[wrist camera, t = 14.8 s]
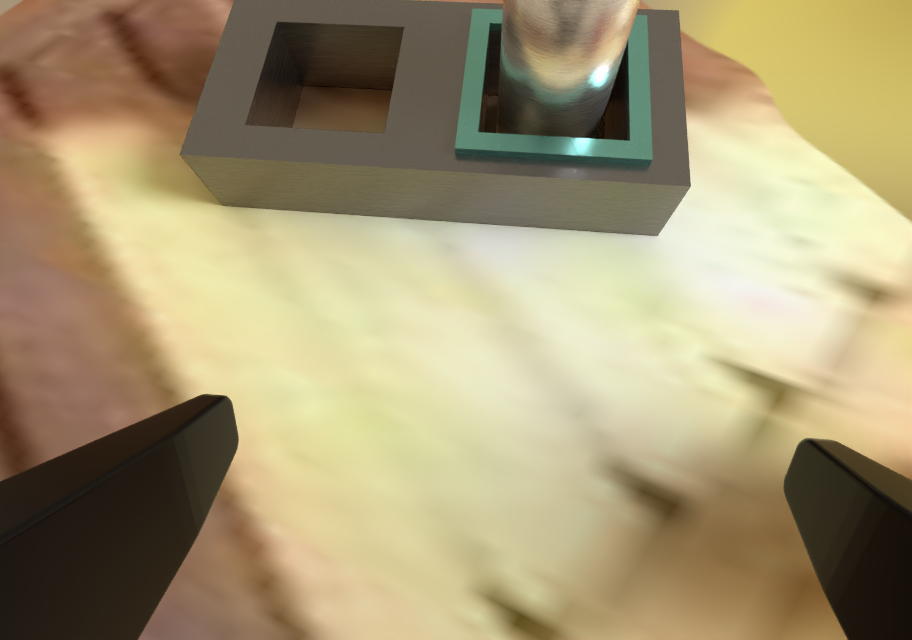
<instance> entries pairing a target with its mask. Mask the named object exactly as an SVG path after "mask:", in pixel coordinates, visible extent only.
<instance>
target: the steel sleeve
mask: <svg viewBox="0 0 912 640" xmlns="http://www.w3.org/2000/svg"><path fill="white" fill-rule="evenodd" d="M640 1H641V0H503V13H502V32H501V52H500V72H499V91H498V111H497V131H496V133H501V134H519V135H536V136H554V137H572V138H590V139H596V137H597V134H598V131H599V128H600V125H601V122H602V118H603V115H604V112H605V109H606V106H607V103H608V100H609V97H610V94H611V91H612V88H613V84H614V81H615V78H616V75H617V72H618V69H619V66H620V63H621V60H622V57H623V53H624V50H625V47H626V44H627V41H628V38H629V35H630V32H631V29H632V26H633V23H634V19H635V16H636V13H637V10H638V7H639V4H640Z"/></svg>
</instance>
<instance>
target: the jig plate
mask: <svg viewBox="0 0 912 640" xmlns="http://www.w3.org/2000/svg"><path fill="white" fill-rule="evenodd" d="M502 13H503V4H492V3H466V2H439V1H413V0H234V3H233V6H232V9H231V11H230V14H229V17H228V20H227V23H226V25H225V28H224V31H223V34H222V37H221V40H220V42H219V45H218V48H217V51H216V54H215V57H214V59H213V62H212V65H211V68H210V71H209V73H208V76H207V79H206V82H205V85H204V88H203V90H202V93H201V96H200V99H199V102H198V104H197V107H196V110H195V113H194V116H193V119H192V121H191V124H190V127H189V130H188V133H187V135H186V138H185V141H184V144H183V147H182V150H181V152H180V156H181V157H182V158H183V159H184V160H185V162H186V163H187V164H188V165H189V166H190V167H191V169H192V170H193V171H194V172H195V173H196V175H197V176H198V177H199V178H200V179H201V180H202V182H203V183H204V184H205V185H206V186H207V188H208V189H209V190H210V191H211V192H212V193H213V195H214V196H215V197H216V198H217V199H218V201H219V202H220V203H221V204H222V205H224V206H238V207H252V208H267V209H281V210H296V211H310V212H324V213H339V214H353V215H367V216H382V217H396V218H411V219H425V220H439V221H454V222H468V223H483V224H497V225H511V226H526V227H540V228H554V229H569V230H583V231H598V232H612V233H626V234H641V235H655V236H658V235H659V233H660V232H661V230H662V229H663V227H664V226H665V224H666V223H667V221H668V220H669V218H670V217H671V215H672V214H673V212H674V211H675V209H676V208H677V206H678V205H679V203H680V202H681V200H682V199H683V197H684V196H685V194H686V193H687V191H688V190H689V188H690V187H691V184H690V169H689V154H688V140H687V125H686V110H685V95H684V81H683V66H682V51H681V37H680V23H679V11H676V10H675V11H673V10H650V9H638V10H637V13H636V16H635V19H634V23H633V26H632V29H631V32H630V35H629V38H628V41H627V44H626V47H625V50H624V53H623V57H622V60H621V63H620V66H619V69H618V72H617V75H616V78H615V81H614V84H613V88H612V91H611V94H610V97H609V100H608V103H607V106H606V109H605V139H590V138H572V137H554V136H536V135H519V134H501V133H484V128H485V118H486V108H487V99H488V95H498V91H499V72H500V52H501V32H502ZM303 85H310V86H330V87H349V88H369V89H388V90H392V95H391V100H390V106H389V111H388V116H387V122H386V127H385V132H384V133H372V132H354V131H337V130H319V129H302V128H292V124H293V121H294V117H295V113H296V109H297V106H298V102H299V98H300V94H301V91H302V87H303Z"/></svg>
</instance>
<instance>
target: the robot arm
mask: <svg viewBox="0 0 912 640" xmlns="http://www.w3.org/2000/svg"><path fill="white" fill-rule="evenodd" d="M238 440H239V438H238V431H237V426H236V420H235V415H234V410H233V405H232V402H231V400H230V398H228V397H227V396H224V395H211V394H203V395H200V396H197V397H195V398H193V399H190V400H188V401H186V402H183V403H181V404H179V405H176V406H174V407H172V408H169V409H167V410H165V411H162V412H160V413H158V414H156V415H153V416H151V417H149V418H146V419H144V420H142V421H139V422H137V423H135V424H132V425H130V426H128V427H125V428H123V429H121V430H118V431H116V432H114V433H112V434H109V435H107V436H105V437H102V438H100V439H98V440H95V441H93V442H91V443H88V444H86V445H84V446H81V447H79V448H77V449H74V450H72V451H70V452H68V453H65V454H63V455H61V456H58V457H56V458H54V459H51V460H49V461H47V462H44V463H42V464H40V465H37V466H35V467H33V468H31V469H28V470H26V471H24V472H21V473H19V474H17V475H14V476H12V477H10V478H7V479H5V480H3V481H0V640H138V639H139V637H140V635H141V634H142V632H143V630H144V628H145V627H146V625H147V623H148V621H149V620H150V618H151V616H152V615H153V613H154V611H155V609H156V608H157V606H158V604H159V602H160V601H161V599H162V597H163V596H164V594H165V592H166V590H167V589H168V587H169V585H170V584H171V582H172V580H173V578H174V577H175V575H176V573H177V571H178V570H179V568H180V566H181V565H182V563H183V561H184V559H185V558H186V556H187V554H188V552H189V551H190V549H191V547H192V545H193V544H194V542H195V540H196V538H197V536H198V534H199V532H200V530H201V528H202V526H203V524H204V522H205V520H206V518H207V516H208V513H209V511H210V509H211V507H212V505H213V502H214V500H215V498H216V496H217V493H218V491H219V489H220V487H221V485H222V482H223V480H224V478H225V476H226V473H227V471H228V469H229V467H230V465H231V462H232V460H233V458H234V456H235V453H236V451H237V447H238ZM784 493H785V497H786V499H787V502H788V504H789V507H790V509H791V512H792V515H793V517H794V520H795V522H796V525H797V527H798V530H799V532H800V535H801V537H802V540H803V542H804V545H805V547H806V550H807V552H808V555H809V557H810V560H811V562H812V565H813V567H814V570H815V572H816V575H817V577H818V580H819V582H820V584H821V587H822V589H823V591H824V593H825V595H826V597H827V600H828V602H829V604H830V606H831V608H832V610H833V612H834V614H835V616H836V618H837V620H838V622H839V623H840V625H841V627H842V629H843V631H844V633H845V635H846V637H847V639H848V640H912V480H910V479H908V478H906V477H904V476H902V475H900V474H898V473H896V472H894V471H893V470H891V469H889V468H887V467H885V466H883V465H881V464H879V463H877V462H875V461H873V460H871V459H869V458H868V457H866V456H864V455H862V454H860V453H858V452H856V451H854V450H852V449H850V448H848V447H846V446H844V445H843V444H841V443H839V442H836V441H833V440H827V439H812V438H806V439H804V440H802V441H801V442H800V443H799V444H798V446H797V448H796V450H795V453H794V456H793V458H792V461H791V463H790V466H789V468H788V471H787V473H786V476H785V479H784Z"/></svg>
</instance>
